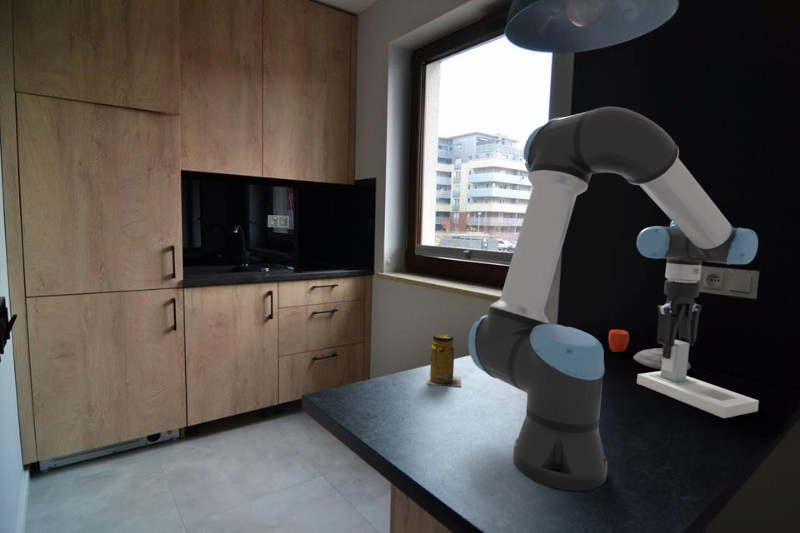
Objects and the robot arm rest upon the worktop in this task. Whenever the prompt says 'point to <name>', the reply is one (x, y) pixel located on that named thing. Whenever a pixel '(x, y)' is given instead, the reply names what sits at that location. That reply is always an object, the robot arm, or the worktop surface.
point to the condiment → (443, 361)
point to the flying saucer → (652, 358)
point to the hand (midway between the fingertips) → (673, 369)
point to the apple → (618, 340)
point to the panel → (701, 395)
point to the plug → (678, 363)
